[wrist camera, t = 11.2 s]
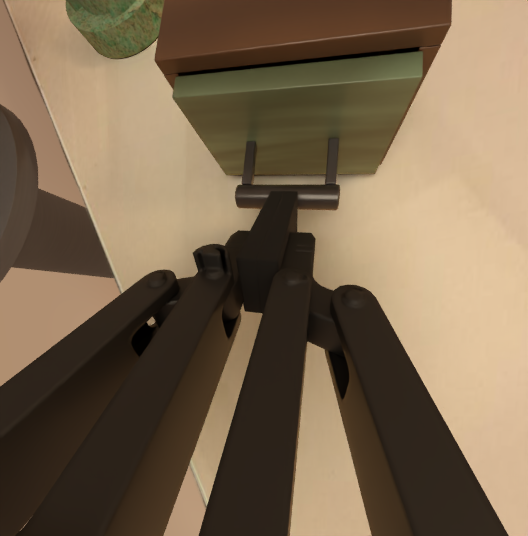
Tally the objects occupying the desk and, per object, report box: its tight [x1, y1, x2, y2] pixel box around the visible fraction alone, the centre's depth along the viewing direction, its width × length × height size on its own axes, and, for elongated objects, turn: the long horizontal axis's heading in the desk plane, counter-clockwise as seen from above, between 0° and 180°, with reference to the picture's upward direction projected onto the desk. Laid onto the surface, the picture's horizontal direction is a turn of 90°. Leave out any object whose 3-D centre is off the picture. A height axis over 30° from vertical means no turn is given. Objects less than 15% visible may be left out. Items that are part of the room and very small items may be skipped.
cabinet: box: [155, 0, 452, 165], centre depth 16 cm, size 15×13×10 cm
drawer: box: [173, 50, 423, 210], centre depth 15 cm, size 18×11×8 cm, turn 174°
